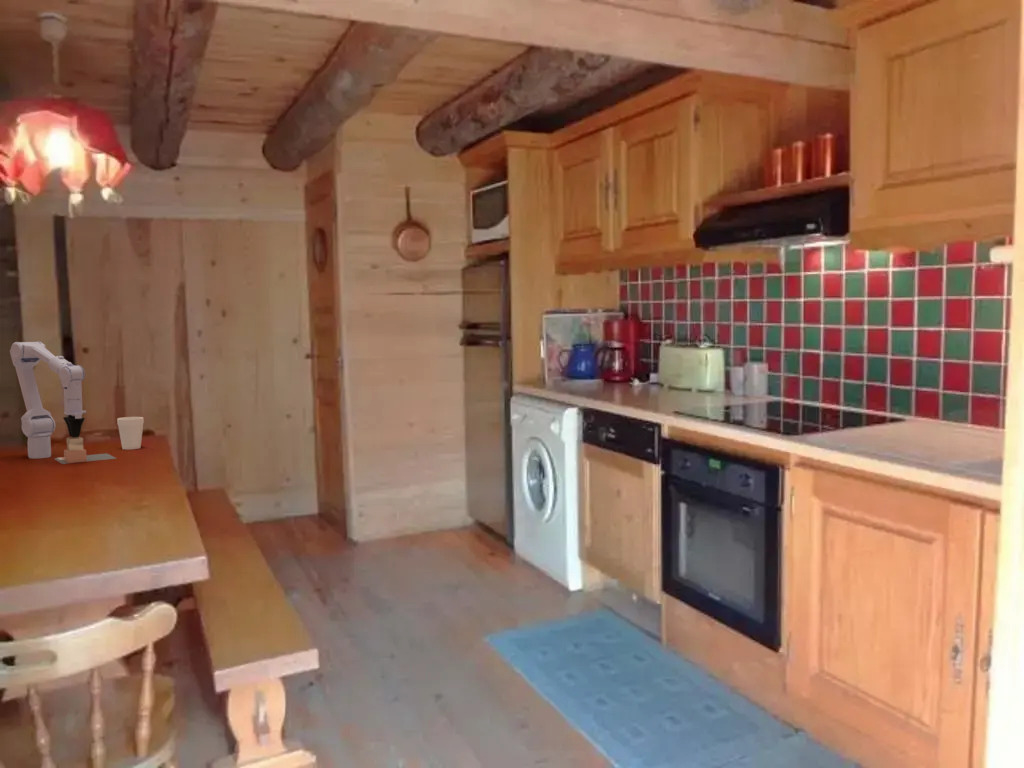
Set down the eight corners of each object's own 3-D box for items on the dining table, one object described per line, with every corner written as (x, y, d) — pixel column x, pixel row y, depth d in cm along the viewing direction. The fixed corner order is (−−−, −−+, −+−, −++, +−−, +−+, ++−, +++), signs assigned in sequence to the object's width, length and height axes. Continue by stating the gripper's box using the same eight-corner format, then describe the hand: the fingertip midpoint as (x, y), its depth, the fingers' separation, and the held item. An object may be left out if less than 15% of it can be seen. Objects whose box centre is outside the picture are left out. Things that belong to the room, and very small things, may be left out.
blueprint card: (56, 458, 294) (56, 457, 294) (77, 456, 299) (77, 455, 299) (60, 460, 290) (60, 459, 290) (81, 458, 294) (81, 457, 294)
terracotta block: (64, 460, 289) (63, 449, 289) (82, 458, 293) (82, 448, 293) (68, 463, 285) (67, 451, 284) (86, 461, 289) (86, 450, 288)
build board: (53, 461, 294) (53, 458, 294) (106, 455, 305) (106, 453, 305) (62, 466, 283) (62, 463, 283) (117, 460, 295) (116, 458, 295)
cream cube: (67, 449, 289) (66, 437, 289) (80, 448, 292) (80, 436, 291) (69, 451, 286) (69, 439, 285) (83, 450, 288) (82, 438, 288)
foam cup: (120, 449, 321) (119, 417, 320) (145, 448, 324) (144, 416, 323) (116, 453, 312) (115, 420, 311) (142, 451, 315) (141, 419, 314)
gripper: (90, 400, 284) (91, 437, 285) (80, 397, 295) (81, 433, 296) (68, 401, 280) (69, 439, 281) (59, 398, 291) (60, 435, 292)
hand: (74, 436), depth 288 cm, fingers open, 3 cm apart
